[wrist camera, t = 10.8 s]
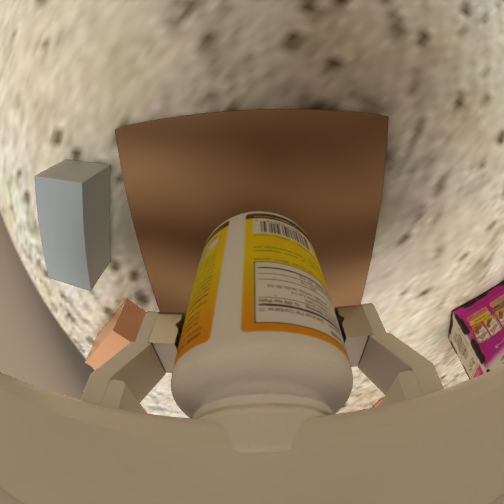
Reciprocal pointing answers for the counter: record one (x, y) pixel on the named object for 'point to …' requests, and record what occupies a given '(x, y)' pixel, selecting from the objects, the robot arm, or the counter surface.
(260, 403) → the supplement bottle
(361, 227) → the board
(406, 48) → the counter surface
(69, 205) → the brick blue
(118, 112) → the counter surface
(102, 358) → the brick terracotta
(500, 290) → the candy bar box
